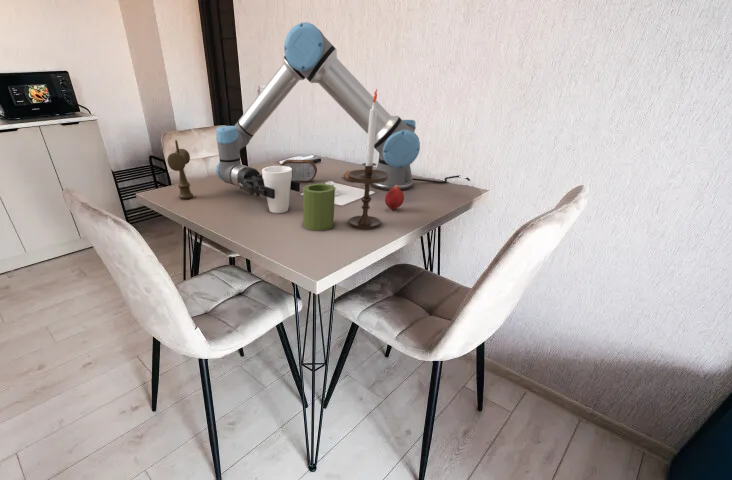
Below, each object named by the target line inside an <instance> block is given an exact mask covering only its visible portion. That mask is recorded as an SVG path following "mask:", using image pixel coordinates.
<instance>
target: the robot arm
mask: <svg viewBox="0 0 732 480" xmlns="http://www.w3.org/2000/svg"><path fill="white" fill-rule="evenodd" d="M283 50H284V51H283V53H284V56H283V58H282V59H283V60H282V61H283V63H282V64H281V65H280V67H278V69H277V70H276V72H275V73H274V74H273V75H272V77H271V78H270V80H269V81H268V82H267V83H266V84H265V86H264V87H263V88H262V89H261V91H260V92H259V94H257V96H256V98H255V99H254V100H253V102H251V104H250V105H249V107H248V108H247V109H246V110H245V112H243V114H242V115H241V117H240V118H239V119H238V121H237V122H236V123H235V124H234V125H222V126H218V127H217V128H216V130H215V132H216V137H215V138H216V143H217V150H218V159H219V162H218V163H217V165H216V168H215V173H216V176H217V178H218V179H220V180H221V181H222V182H224V183H226V184H230V185H233V186H236V187H239V189H240V190H244V191H245V193H247V194H248V195H250V196H254V195H255V196H256V197H257V198H259V197H261V196H264V197H266V198H267V197H269V198H272V199H274V198H275V190H274V189H271V188H268V187H265V185H264V180H263V178H262V173H260V172H259V170H258V169H256V168H253V167H250V166H247V165H244V164H241V163H242V162H241V150H242V149H243V148H245V147H247V145H248V144H249V143H250V141H251V140H252V138H253V137H254V136H255V135H256V133H257V132H258V131H259V130H260V129H261V127H262V126H263V125H264V124H265V123H266V121H267V120H268V119H269V118H270V116H271V115H272V114H273V113H274V111H275V110H276V109H277V108H278V107H279V106H280V104H282V102H283V101H284V100H285V99H286V97H287V96H288V95H289V93H290V92H291V91H292V90H293V89H294V87H295V86H296V85H297V83H299V81H304V80H305V79H306V80H307V81H308V82H309V83H310V84H318V85H319V86H320V87H321V88H322V89H323V90H324V91H325V92H326V93H327V94H328V95H329V97H331V98H332V99H333V100H334V101H335V102H336V103H337V104H338V105H339V106H340V107H341V108H342V110H344V111H345V113H347V114H348V116H350V118H351V119H352V120H353V121H354V122H355V123H356V124H357V125H358V126H359V127H360V128H361V129H362V130H363V131H364V132H365V133H366V135H368V128H369V115H370V109H372V106H373V103H375V107H376V109H377V119H376V131H375V143H374V150H376V151H377V152H378V162H377V165H376V168H375V170H380V171H384V172H386V173H388V180H386V181H384V182H380V183H372V184H371V186H372V187H373V188H376V189H378V190H383V191H389V190H390V189H392V188H394V186H395V185H398V186H399V187H398V188H399V189H400V190H401V191H405V190H408V189H410V188H412V187H413V182H414V181H416V182H427V183H433V184H434V183H436V184H446V183H447V182H448V180H450V179H457V178H460V177H459V176H460V175H451V176H447V177H445V178H444V179H443V180H441V181H440V180H433V179H424V178H416V177H415V178H414V177H413V175H412V169H411V165H412V163H414V162H415V160H417V158H418V156H419V154H420V151H421V150H420V149H421V141H420V138H419V136H418V135H417V134H416V132H415V131H416V128H417V127H416V123H417V122H416V120H415V119H402V118H401V117H400V116H399V115H391V114H390V113H389V112H388V111H387V110H386V109H385V108H384V107H383V106H382V105H381V104H380V102H378V100H377V99H376V101H375V102H373V99H374V96H373V95H372V94H371V93H370V91H368V89H367V88H366V87H365V86H364V85H363V84H362V83H361V82H360V81H359V80H358V79H357V78H356V77H355V76H354V75H353V73H352V72H351V71H350V70H348V68H347V67H346V66H345V65H344V64H343V63H342V61H341V60H339V58H338V50H337V48H336V47H335V46H334V45H333V44H332V43H331V42H330V41H329V40H328V38H326V36H325V35H324V33H323V31H321V30H320V29H319V28H318V27H317V26H316V25H315V24H313V23H311V22H303V21H302V22H300V23H297V24H295V25H294V26H293V27H292V28H290V30H289V31H288V32H287V34H286V36H285V39H284V43H283ZM464 179H466V181H468V182H471V179H470V178H469V177H467V178H464ZM300 183H301V182H294V181H291V186H290V191H294V192H297V193H299V192H301V188H300V187H301V186H300V185H301V184H300Z"/></svg>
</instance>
